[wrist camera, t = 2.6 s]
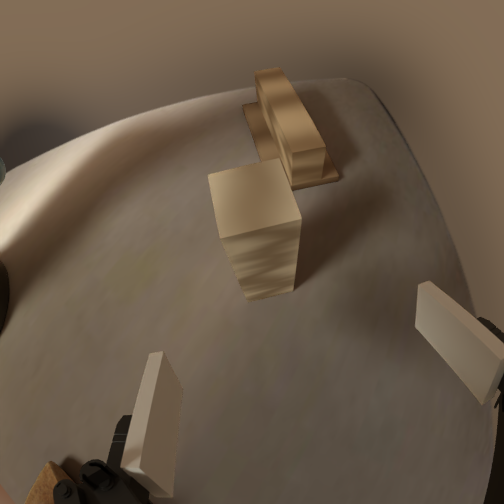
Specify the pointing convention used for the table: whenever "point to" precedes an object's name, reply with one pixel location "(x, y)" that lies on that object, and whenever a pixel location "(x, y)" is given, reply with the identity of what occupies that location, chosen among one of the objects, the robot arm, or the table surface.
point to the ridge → (287, 132)
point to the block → (258, 226)
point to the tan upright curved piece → (46, 484)
